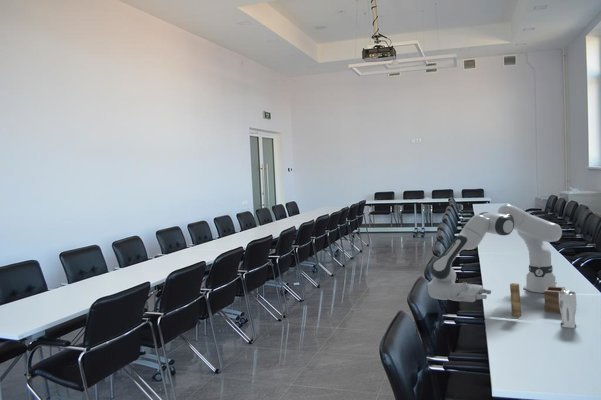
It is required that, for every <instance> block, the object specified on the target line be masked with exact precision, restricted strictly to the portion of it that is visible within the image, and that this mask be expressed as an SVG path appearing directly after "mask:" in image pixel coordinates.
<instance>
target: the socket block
mask: <svg viewBox="0 0 601 400" xmlns="http://www.w3.org/2000/svg"><path fill="white" fill-rule="evenodd" d="M560 291H566V287H565V286H563V287H562V286H559V287H553V286H547V287H546V289H545V290H544V293H543V296H544V312H547V313H557V314H561V312H560V308H559V292H560Z"/></svg>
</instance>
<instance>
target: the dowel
mask: <svg viewBox="0 0 601 400" xmlns="http://www.w3.org/2000/svg"><path fill="white" fill-rule="evenodd" d="M509 289H510V304H511V305H510V306H511V316H513V317H514V318H513V319H515V320H517V317H522V308H521V306H522V305H521V293H520V291H521V290H520V289H521V288H520V283H518V282H517V283H516V282H515V283H514V282H512V283H510V284H509ZM515 317H516V318H515Z"/></svg>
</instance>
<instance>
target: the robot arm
mask: <svg viewBox="0 0 601 400" xmlns="http://www.w3.org/2000/svg"><path fill="white" fill-rule="evenodd" d="M513 230H516V231H517V234H518V236H519V237H520V238H521V239H522V240H523V241H524V244H525V245H526V247H527V251H528V259H529V265H528V271H529V272H528V273H527V274H526V275H525V276H526V278H525V279H526V281H525V282H526V283H525V285H524V286H522V287H523V290H526V291H529V292H532V293H540V294H542V293H543V294H544V290H545V289H546V287H547V286H553V287H560V286H559V284H558V283H557V281H556V275H555V274H554V273H553V272H554V271H553V269H554V267H553V264H552V252H551V250H550V249H549V248H548V247H547V246H546V245H545V244H544V242H545V243H551V242H552V243H553V242H557V241H559V240H560V239H561V238H562V235H563V230H562V227H561V226H560V225H559V224H557V223H554V222H551V221H549V220H546V219H543V218H541V217H538V216H535V215H532V214H530V213H528V212H527V211H525V210H523V209H522V208H520V207H517V206H515V205H512V204H503V205H500V207H499V208H498V210H497V212H487V211H484V212H480V213H478V214H475V215H473V216H472V217H471V218H470V219H469V220H467V222H466V223H465V225H464V226H463V228H462V229H461V231H460V232H459V233H458V234H457V236H456V237H454V238H453V240H452V241H451V242H450V243H449V245H448V246H447V247H446V248H445V249H444V250H443V252H442V253H441V254H440V255H439V256H438V257H437V258H436V259H434V260H433V261H432V262H431V264H430V266H429V267H430V268H429V270H430V273H431V275H432V276H433V278H432V280H430V281H429V282H428V283H427V287H426V289H427V294H428V295H429V297H431V298H432V299H436V300H441V301H442V300H443V301H446V300H451V301H455V302H465V303H466V302H468V303H474V302H475V301H476V300H486V299H487V298H488V296H487V295H491V294H492V290H490V289H486V288H484V286H483V285H480V284H472V283H467V282H461V283H460V282H458V283H457V282H456V280H457V273H456V271H455V269H454V268H453V266H452V265H453V264H452V263H453V262H454V261H455V260H456V258H457V257H458V255H459V254H460V252H461V251H464V250H467V251H469V250H474V249H476V248H477V247H478V246H479V245H480V243H481V242H482V240H483V239H484V237H485V235H486V233H488V234H491V235H492V234H493V235H499V236H508V235H510V234H511V233H513Z"/></svg>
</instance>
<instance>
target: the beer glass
mask: <svg viewBox="0 0 601 400" xmlns="http://www.w3.org/2000/svg"><path fill="white" fill-rule="evenodd" d="M576 293H577V292H575V291H572V290H565V291H560V292H559V308H560V312H561V313H560V315H561V319H560V320H561V321H560V327H562V328H565V329H575V328H577V323H576V313H577V312H576V311H577V307H578V306H577V305H578V304H577V294H576Z"/></svg>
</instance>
